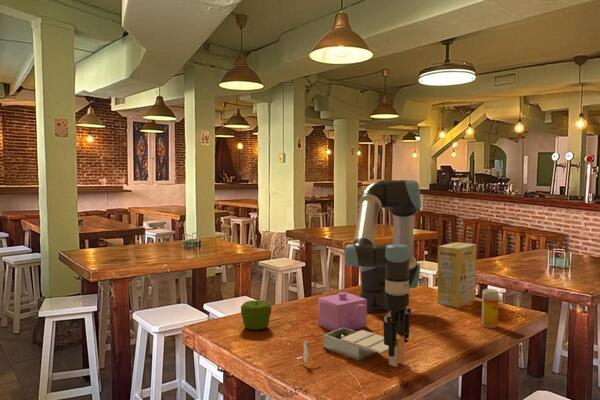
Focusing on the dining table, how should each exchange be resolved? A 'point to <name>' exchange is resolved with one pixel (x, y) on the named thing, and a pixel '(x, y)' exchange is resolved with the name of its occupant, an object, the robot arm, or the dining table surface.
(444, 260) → the pasta box
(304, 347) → the stand
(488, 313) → the beer can
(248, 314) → the apple
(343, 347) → the grey rectangular box
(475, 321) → the dining table surface
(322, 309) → the purple knobbed cube
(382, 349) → the lid
